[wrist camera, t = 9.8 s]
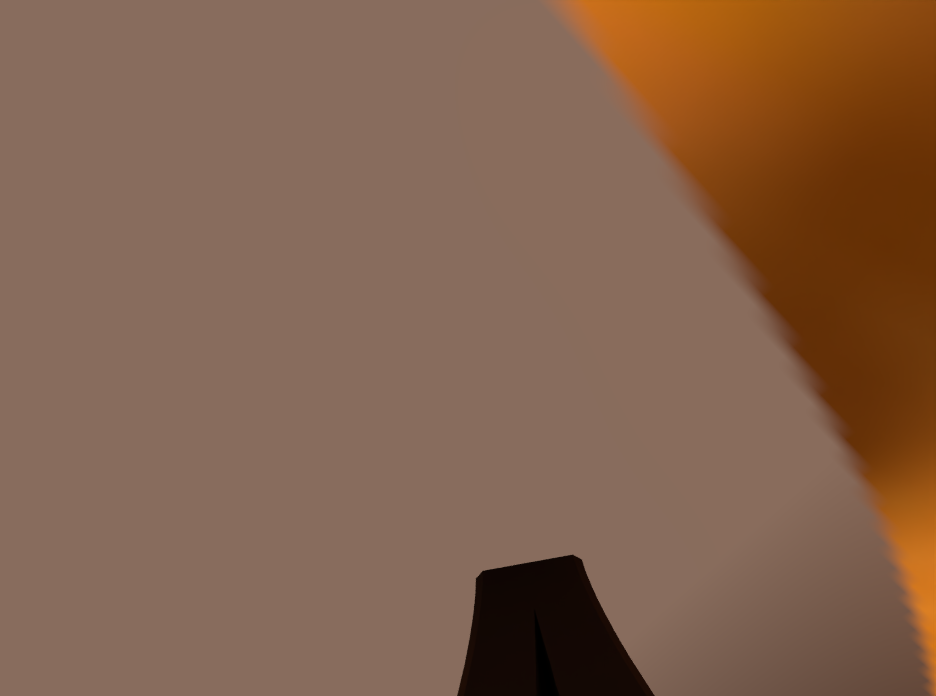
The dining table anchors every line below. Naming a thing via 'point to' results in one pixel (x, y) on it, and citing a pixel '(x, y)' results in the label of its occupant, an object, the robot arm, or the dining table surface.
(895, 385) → the dining table surface
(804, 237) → the dining table surface
